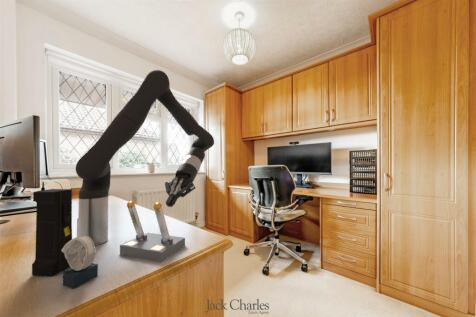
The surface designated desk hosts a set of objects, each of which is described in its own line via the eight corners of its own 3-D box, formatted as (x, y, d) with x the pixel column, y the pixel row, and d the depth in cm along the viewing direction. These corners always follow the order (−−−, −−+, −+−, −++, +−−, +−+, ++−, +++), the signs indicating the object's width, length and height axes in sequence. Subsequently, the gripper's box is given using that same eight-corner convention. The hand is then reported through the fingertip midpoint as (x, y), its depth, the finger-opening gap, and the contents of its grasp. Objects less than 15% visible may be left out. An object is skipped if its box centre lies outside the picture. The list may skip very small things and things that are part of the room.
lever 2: (161, 243, 64) (151, 205, 60) (166, 238, 66) (156, 201, 62) (167, 244, 63) (157, 205, 59) (172, 239, 65) (162, 201, 61)
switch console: (119, 254, 63) (119, 240, 64) (147, 240, 75) (147, 228, 75) (161, 262, 58) (161, 247, 58) (185, 246, 69) (185, 233, 69)
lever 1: (136, 239, 68) (124, 203, 63) (141, 234, 70) (130, 199, 65) (141, 240, 67) (129, 203, 63) (146, 235, 69) (135, 200, 65)
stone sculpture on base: (82, 271, 53) (82, 231, 53) (102, 277, 50) (102, 235, 51) (57, 283, 48) (58, 239, 48) (78, 290, 45) (78, 243, 45)
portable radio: (78, 265, 57) (79, 180, 57) (56, 277, 51) (58, 182, 51) (54, 264, 57) (55, 180, 58) (30, 276, 51) (32, 182, 52)
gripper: (171, 162, 77) (147, 198, 66) (200, 162, 73) (180, 200, 61) (179, 174, 82) (158, 210, 70) (206, 175, 78) (189, 212, 66)
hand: (168, 205), depth 66 cm, fingers closed
